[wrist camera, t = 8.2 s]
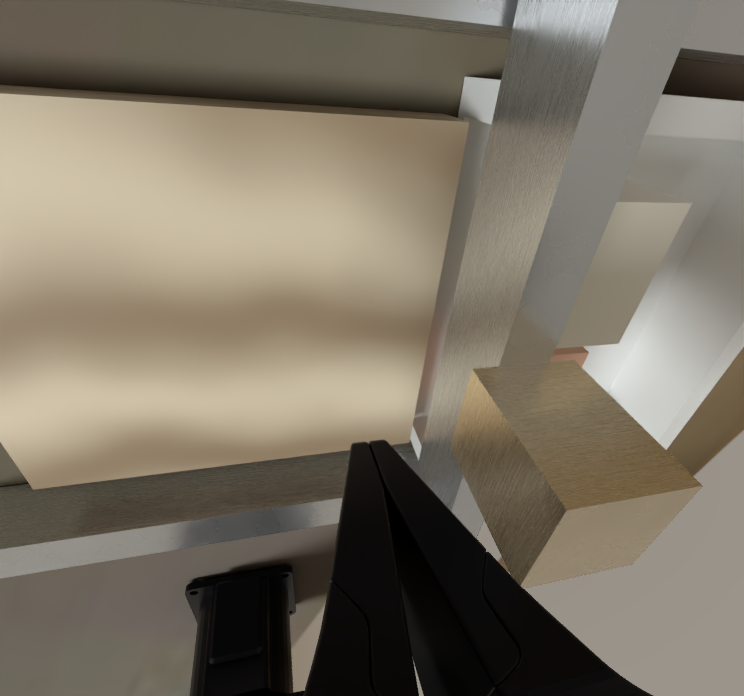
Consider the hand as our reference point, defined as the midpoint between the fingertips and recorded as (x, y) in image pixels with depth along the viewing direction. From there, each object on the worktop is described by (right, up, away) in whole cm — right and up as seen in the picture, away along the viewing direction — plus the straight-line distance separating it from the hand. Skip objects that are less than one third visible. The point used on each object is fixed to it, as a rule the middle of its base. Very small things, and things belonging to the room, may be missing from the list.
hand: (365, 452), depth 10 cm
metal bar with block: (+3, +3, +4) cm, 6 cm away
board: (-5, +4, +5) cm, 8 cm away
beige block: (+5, +6, +3) cm, 8 cm away
